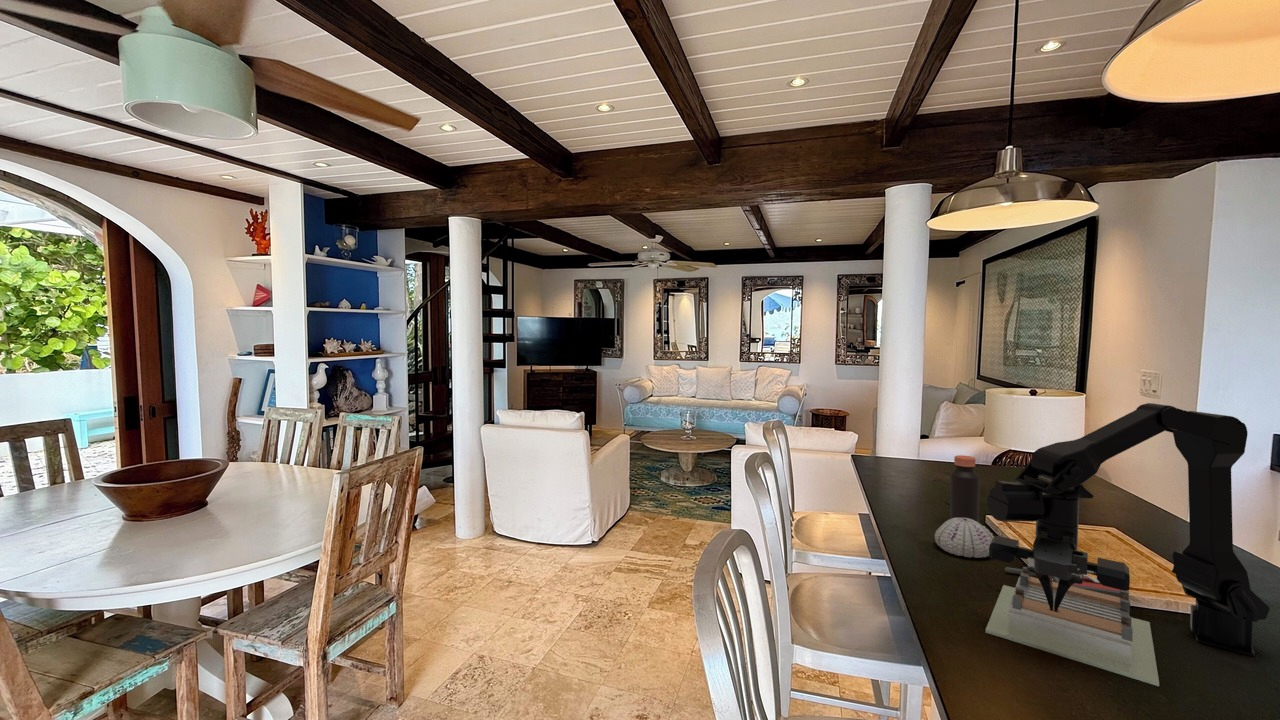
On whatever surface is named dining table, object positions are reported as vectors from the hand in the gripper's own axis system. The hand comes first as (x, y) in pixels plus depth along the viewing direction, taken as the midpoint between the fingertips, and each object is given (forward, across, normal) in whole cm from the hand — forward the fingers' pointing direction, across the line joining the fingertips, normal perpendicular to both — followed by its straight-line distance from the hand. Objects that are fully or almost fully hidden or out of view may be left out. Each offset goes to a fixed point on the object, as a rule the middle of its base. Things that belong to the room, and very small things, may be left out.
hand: (1053, 608), depth 90 cm
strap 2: (+1, +2, 0) cm, 2 cm away
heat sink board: (+5, +2, +6) cm, 8 cm away
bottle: (+6, -22, +50) cm, 56 cm away
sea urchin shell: (+6, -19, +34) cm, 39 cm away
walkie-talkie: (+6, +1, +25) cm, 26 cm away
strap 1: (+1, +2, +11) cm, 11 cm away
